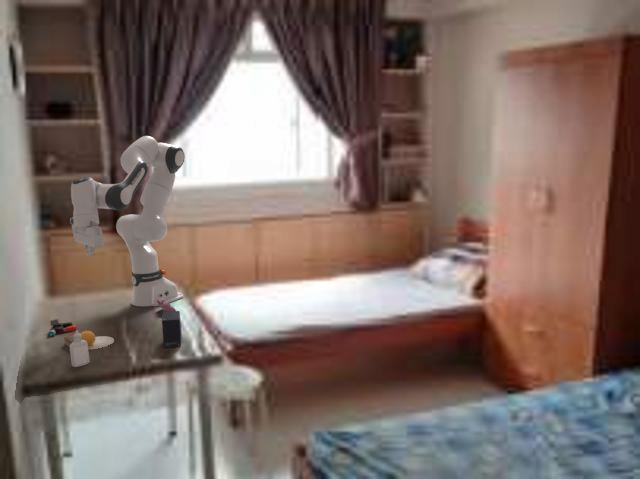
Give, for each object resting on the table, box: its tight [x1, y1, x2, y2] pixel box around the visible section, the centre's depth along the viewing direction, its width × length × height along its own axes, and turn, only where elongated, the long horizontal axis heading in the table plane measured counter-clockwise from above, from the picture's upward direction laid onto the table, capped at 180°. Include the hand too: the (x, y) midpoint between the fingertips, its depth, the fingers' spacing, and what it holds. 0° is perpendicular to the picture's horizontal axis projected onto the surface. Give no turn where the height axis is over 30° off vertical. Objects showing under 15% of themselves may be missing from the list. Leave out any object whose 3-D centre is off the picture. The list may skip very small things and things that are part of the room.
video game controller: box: [157, 298, 177, 312], centre depth 264 cm, size 10×5×7 cm, turn 28°
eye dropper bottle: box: [69, 329, 90, 368], centre depth 210 cm, size 4×6×12 cm
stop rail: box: [63, 334, 74, 348], centre depth 226 cm, size 2×14×3 cm, turn 42°
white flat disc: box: [88, 335, 115, 351], centre depth 231 cm, size 13×13×1 cm
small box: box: [161, 310, 182, 349], centre depth 228 cm, size 11×6×10 cm, turn 12°
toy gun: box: [47, 318, 78, 337], centre depth 244 cm, size 10×12×5 cm
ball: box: [80, 330, 96, 346], centre depth 228 cm, size 6×6×6 cm
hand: (90, 255), depth 242 cm, fingers closed
